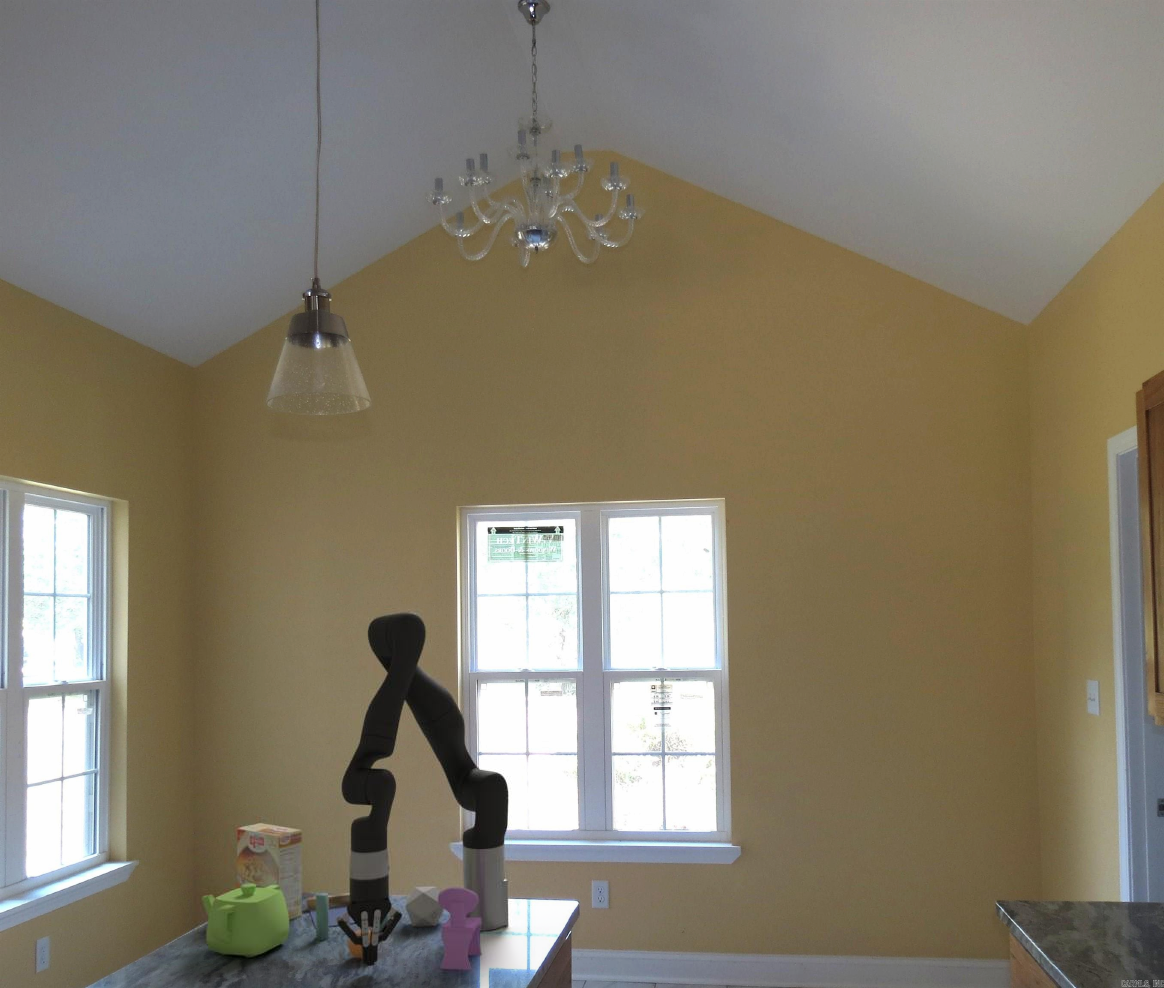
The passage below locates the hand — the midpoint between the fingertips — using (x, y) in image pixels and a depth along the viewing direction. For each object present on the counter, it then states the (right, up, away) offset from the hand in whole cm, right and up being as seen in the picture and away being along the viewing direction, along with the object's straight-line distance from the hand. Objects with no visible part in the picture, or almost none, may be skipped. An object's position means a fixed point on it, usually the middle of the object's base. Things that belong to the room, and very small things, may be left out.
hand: (369, 964), depth 200 cm
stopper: (-16, -6, +44) cm, 47 cm away
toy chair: (+17, -2, +5) cm, 18 cm away
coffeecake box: (-31, -6, +38) cm, 50 cm away
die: (+6, -4, +29) cm, 30 cm away
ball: (-3, 0, +9) cm, 9 cm away
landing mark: (-13, -5, +36) cm, 39 cm away
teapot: (-30, -4, +16) cm, 35 cm away
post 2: (-3, -4, +25) cm, 26 cm away
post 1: (-14, -4, +21) cm, 26 cm away
